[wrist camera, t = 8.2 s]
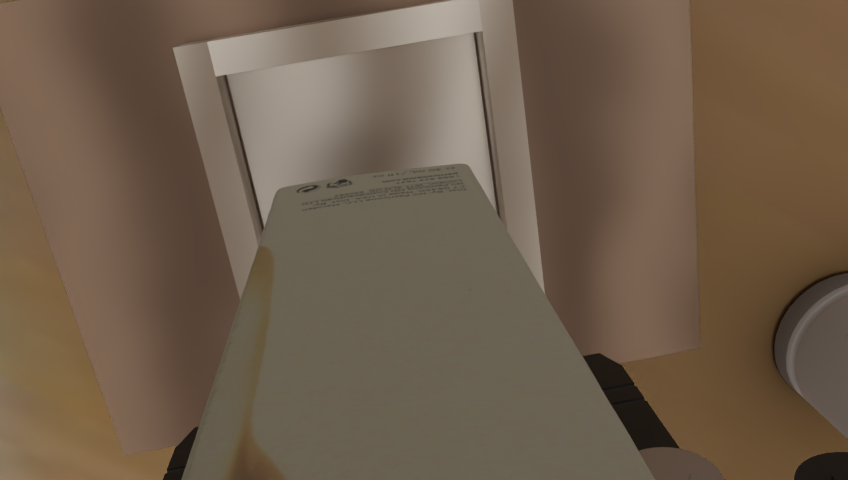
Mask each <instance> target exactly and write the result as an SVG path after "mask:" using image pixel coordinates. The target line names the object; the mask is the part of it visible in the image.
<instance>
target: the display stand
mask: <svg viewBox="0 0 848 480" xmlns="http://www.w3.org/2000/svg"><path fill="white" fill-rule="evenodd" d="M0 108H1V111H2V113H3V116H4V119H5V122H6V125H7V127H8V130H9V133H10V136H11V139H12V141H13V144H14V147H15V150H16V153H17V155H18V158H19V161H20V164H21V167H22V170H23V172H24V175H25V178H26V181H27V184H28V186H29V189H30V192H31V195H32V198H33V200H34V203H35V206H36V209H37V212H38V214H39V217H40V220H41V223H42V226H43V229H44V231H45V234H46V237H47V240H48V243H49V245H50V248H51V251H52V254H53V257H54V259H55V262H56V265H57V268H58V271H59V273H60V276H61V279H62V282H63V285H64V287H65V290H66V293H67V296H68V299H69V302H70V304H71V307H72V310H73V313H74V316H75V318H76V321H77V324H78V327H79V330H80V332H81V335H82V338H83V341H84V344H85V346H86V349H87V352H88V355H89V358H90V360H91V363H92V366H93V369H94V372H95V375H96V377H97V380H98V383H99V386H100V389H101V391H102V394H103V397H104V400H105V403H106V405H107V408H108V411H109V414H110V417H111V419H112V422H113V425H114V428H115V431H116V434H117V436H118V439H119V442H120V445H121V448H122V450H123V453H124V455H129V454H135V453H140V452H145V451H151V450H156V449H161V448H167V447H172V446H178V445H179V444H180V443H181V442H182V441H183V439H184V438H185V437H186V436H187V435H188V434H189V433H190V432H191V431H192V430H193V429H194V428H195V427H199V424H200V421H201V418H202V415H203V412H204V409H205V406H206V403H207V400H208V397H209V394H210V391H211V389H212V386H213V382H214V379H215V376H216V373H217V370H218V367H219V364H220V361H221V358H222V354H223V351H224V349H225V346H226V343H227V339H228V336H229V333H230V330H231V326H232V323H233V320H234V317H235V315H236V312H237V309H238V306H239V303H240V300H241V297H242V294H243V291H244V288H245V285H246V282H247V279H248V276H249V273H250V270H251V267H252V264H253V261H254V259H255V256H256V252H257V249H258V246H259V243H260V239H261V236H262V233H263V229H264V227H265V224H266V221H267V217H268V214H269V212H270V209H271V206H272V202H273V199H274V196H275V194H276V192H277V190H279V189H280V188H283V187H287V186H292V185H298V184H304V183H310V182H316V181H321V180H327V179H333V178H339V177H347V176H354V175H361V174H368V173H377V172H385V171H395V170H403V169H411V168H421V167H431V166H440V165H450V164H467V165H468V166H469V167H470V168H471V170H472V172H473V174H474V175H475V177H476V179H477V180H478V182H479V184H480V185H481V187H482V189H483V190H484V192H485V194H486V195H487V197H488V199H489V201H490V202H491V204H492V206H493V208H494V209H495V211H496V213H497V214H498V216H499V218H500V220H501V221H502V223H503V225H504V226H505V228H506V229H507V231H508V233H509V235H510V236H511V238H512V239H513V241H514V243H515V244H516V246H517V248H518V250H519V251H520V253H521V255H522V256H523V258H524V260H525V261H526V263H527V265H528V266H529V268H530V270H531V272H532V273H533V275H534V277H535V278H536V280H537V282H538V283H539V285H540V287H541V288H542V290H543V292H544V294H545V295H546V297H547V299H548V300H549V302H550V304H551V305H552V307H553V309H554V310H555V312H556V313H557V315H558V317H559V318H560V320H561V322H562V323H563V325H564V327H565V328H566V330H567V332H568V333H569V335H570V337H571V338H572V340H573V342H574V343H575V345H576V347H577V348H578V350H579V352H580V353H581V355H582V356H586V355H591V354H596V353H600V354H602V355H604V356H606V357H607V358H609V359H611V360H613V361H615V362H616V363H618V364H619V363H625V362H630V361H636V360H641V359H646V358H652V357H657V356H663V355H668V354H673V353H679V352H684V351H690V350H695V349H700V316H699V284H698V251H697V219H696V187H695V155H694V122H693V90H692V58H691V25H690V0H17V1H11V2H5V3H0Z"/></svg>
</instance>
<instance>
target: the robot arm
mask: <svg viewBox="0 0 848 480" xmlns="http://www.w3.org/2000/svg"><path fill="white" fill-rule="evenodd" d="M583 358H584V360H585V361H586V363H587V365H588V366H589V368H590V370H591V371H592V373H593V375H594V377H595V378H596V380H597V382H598V384H599V385H600V387H601V389H602V390H603V392H604V394H605V396H606V397H607V399H608V401H609V402H610V404H611V406H612V407H613V409H614V410H615V412H616V414H617V415H618V417H619V419H620V420H621V422H622V424H623V425H624V427H625V429H626V430H627V432H628V434H629V435H630V437H631V439H632V440H633V442H634V444H635V446H636V447H637V449H638V451H639V453H640V454H641V456H642V458H643V460H644V461H645V463H646V465H647V467H648V468H649V470H650V472H651V473H652V475H653V477H654V478H655V480H724V479H723V476H722V474H721V473H720V471H719V470H718V468H717V467H716V466H715V465H714V464H713V463H711V462H710V461H708V460H707V459H706V458H704V457H702V456H700V455H698V454H695V453H693V452H690V451H687V450H683V449H680V448H679V447H678V445H677V444H676V442H675V441H674V440H673V438H672V437H671V435H670V434H669V432H668V431H667V430H666V428H665V427H664V425H663V424H662V422H661V421H660V420H659V418H658V417H657V415H656V414H655V412H654V411H653V410H652V408H651V407H650V405H649V404H648V402H647V401H645V400H644V397H643V395H642V394H641V392H640V391H639V390H638V388H637V387H635V386H634V382H633V381H632V380H631V378H630V377H629V375H628V374H627V372H626V371H625V370H624V368H623V367H622V365H620V364H618V363H616V362H615V361H613V360H611V359H609V358H607V357H606V356H604V355H602V354H600V353H596V354H591V355H586V356H583ZM198 428H199V427H195V428H194V429H193V430H192V431H191V432H190V433H189V434H188V435H187V436H186V437H185V438H184V439H183V441H182V442H181V443H180V444H179V445H178V446H177V447H176V448H175V450H174V453H173V455H172V458H171V460H170V463H169V466H168V468H167V474H165V476H164V478H163V480H181V479H182V476H183V473H184V470H185V467H186V464H187V461H188V458H189V455H190V452H191V449H192V446H193V443H194V440H195V437H196V434H197V431H198ZM794 480H848V452H834V453H825V454H821V455H817V456H814V457H811V458H809V459H808V460H806V461H804V462H803V463H802V464H801V465H800V466H799V467H798V469H797V470H796V473H795V477H794Z"/></svg>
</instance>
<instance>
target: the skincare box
mask: <svg viewBox="0 0 848 480" xmlns="http://www.w3.org/2000/svg"><path fill="white" fill-rule="evenodd" d="M181 480H655V478H654V477H653V475H652V473H651V472H650V470H649V468H648V467H647V465H646V463H645V461H644V460H643V458H642V456H641V454H640V453H639V451H638V449H637V447H636V446H635V444H634V442H633V440H632V439H631V437H630V435H629V434H628V432H627V430H626V429H625V427H624V425H623V424H622V422H621V420H620V419H619V417H618V415H617V414H616V412H615V410H614V409H613V407H612V406H611V404H610V402H609V401H608V399H607V397H606V396H605V394H604V392H603V390H602V389H601V387H600V385H599V384H598V382H597V380H596V378H595V377H594V375H593V373H592V371H591V370H590V368H589V366H588V365H587V363H586V361H585V360H584V358H583V356H582V355H581V353H580V352H579V350H578V348H577V347H576V345H575V343H574V342H573V340H572V338H571V337H570V335H569V333H568V332H567V330H566V328H565V327H564V325H563V323H562V322H561V320H560V318H559V317H558V315H557V313H556V312H555V310H554V309H553V307H552V305H551V304H550V302H549V300H548V299H547V297H546V295H545V294H544V292H543V290H542V288H541V287H540V285H539V283H538V282H537V280H536V278H535V277H534V275H533V273H532V272H531V270H530V268H529V266H528V265H527V263H526V261H525V260H524V258H523V256H522V255H521V253H520V251H519V250H518V248H517V246H516V244H515V243H514V241H513V239H512V238H511V236H510V235H509V233H508V231H507V229H506V228H505V226H504V225H503V223H502V221H501V220H500V218H499V216H498V214H497V213H496V211H495V209H494V208H493V206H492V204H491V202H490V201H489V199H488V197H487V195H486V194H485V192H484V190H483V189H482V187H481V185H480V184H479V182H478V180H477V179H476V177H475V175H474V174H473V172H472V170H471V168H470V167H469V166H468V165H467V164H450V165H440V166H431V167H421V168H411V169H403V170H395V171H385V172H377V173H368V174H361V175H354V176H347V177H339V178H333V179H327V180H321V181H316V182H310V183H304V184H298V185H292V186H287V187H283V188H280V189H279V190H277V192H276V194H275V196H274V199H273V202H272V206H271V209H270V212H269V214H268V217H267V221H266V224H265V227H264V229H263V233H262V236H261V239H260V243H259V246H258V249H257V252H256V256H255V259H254V261H253V264H252V267H251V270H250V273H249V276H248V279H247V282H246V285H245V288H244V291H243V294H242V297H241V300H240V303H239V306H238V309H237V312H236V315H235V317H234V320H233V323H232V326H231V330H230V333H229V336H228V339H227V343H226V346H225V349H224V351H223V354H222V358H221V361H220V364H219V367H218V370H217V373H216V376H215V379H214V382H213V386H212V389H211V391H210V394H209V397H208V400H207V403H206V406H205V409H204V412H203V415H202V418H201V421H200V424H199V428H198V431H197V434H196V437H195V440H194V443H193V446H192V449H191V452H190V455H189V458H188V461H187V464H186V467H185V470H184V473H183V476H182V479H181Z"/></svg>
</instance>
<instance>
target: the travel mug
mask: <svg viewBox="0 0 848 480" xmlns="http://www.w3.org/2000/svg"><path fill="white" fill-rule="evenodd" d="M774 351H775V361H776V364H777V368H778V371H779V372H780V374H781V376H782V377H783V379H784V380H785V381H786V382H787V383H788V384H789V385H790V386H791V387H792V388H793V389H794V390H795V391H796V392H797V393H798V394H799V395H800V396H802V397H803V398H804V399H805V400H806V401H807V402H808V403H809V404H810V405H811V406H812V407H813V408H815V409H816V410H817V411H818V412H819V413H820V414H821V415H822V416H823V417H824V418H825V419H827V420H828V421H829V422H830V423H831V424H832V425H833V426H834V427H835V428H836V429H837V430H838V431H840V432H841V433H842V434H843V435H844V436H845V437H846V438H847V439H848V273H845V274H841V275H837V276H833V277H830V278H828V279H825V280H823V281H821V282H819V283H817V284H815V285H814V286H812V287H811V288H809V289H808V290H806V291H805V292H804V293H803V294H802V295H801V296H799V297H798V298H797V299H796V300H795V301H794V303H793V304H792V305H791V306H790V308H789V309H788V310H787V312H786V313H785V315H784V317H783V319H782V320H781V322H780V325H779V328H778V331H777V333H776V339H775V346H774Z"/></svg>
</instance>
